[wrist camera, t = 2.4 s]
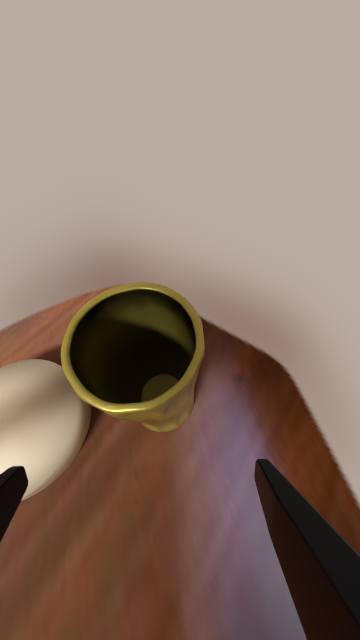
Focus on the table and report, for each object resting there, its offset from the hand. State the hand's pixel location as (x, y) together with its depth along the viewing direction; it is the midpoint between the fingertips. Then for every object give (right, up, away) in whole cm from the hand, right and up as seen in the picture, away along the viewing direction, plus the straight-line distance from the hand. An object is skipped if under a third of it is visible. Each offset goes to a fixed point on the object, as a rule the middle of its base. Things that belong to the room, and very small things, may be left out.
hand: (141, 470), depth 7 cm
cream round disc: (-13, -4, +11) cm, 17 cm away
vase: (0, -2, +12) cm, 12 cm away
